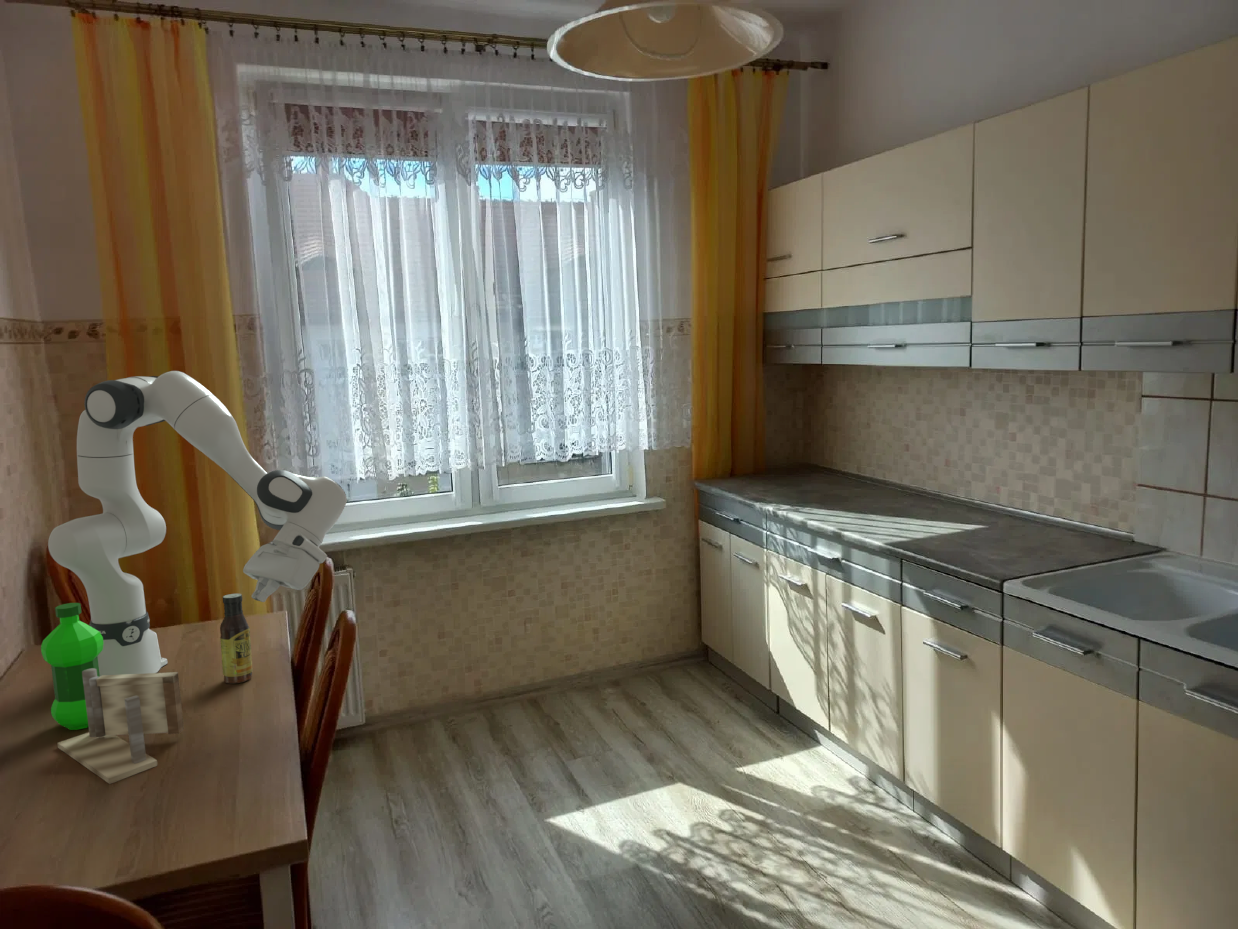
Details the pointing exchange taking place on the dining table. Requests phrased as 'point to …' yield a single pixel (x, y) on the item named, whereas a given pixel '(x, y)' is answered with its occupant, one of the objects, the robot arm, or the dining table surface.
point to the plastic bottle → (71, 664)
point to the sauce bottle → (235, 642)
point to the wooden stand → (110, 743)
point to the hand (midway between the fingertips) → (257, 599)
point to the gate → (155, 702)
